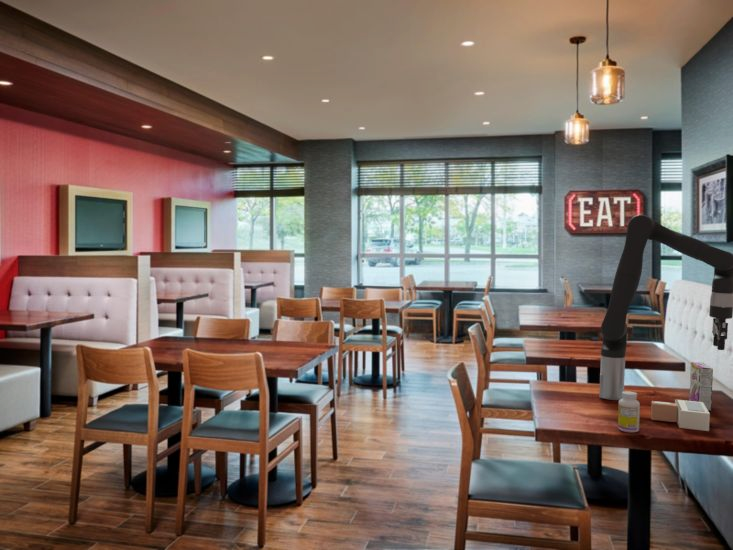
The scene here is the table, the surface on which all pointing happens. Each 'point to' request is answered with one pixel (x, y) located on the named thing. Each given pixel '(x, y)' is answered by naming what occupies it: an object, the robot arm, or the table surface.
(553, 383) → the table surface
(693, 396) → the candy bar box
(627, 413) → the supplement bottle
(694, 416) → the block
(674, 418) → the tan cardboard box
